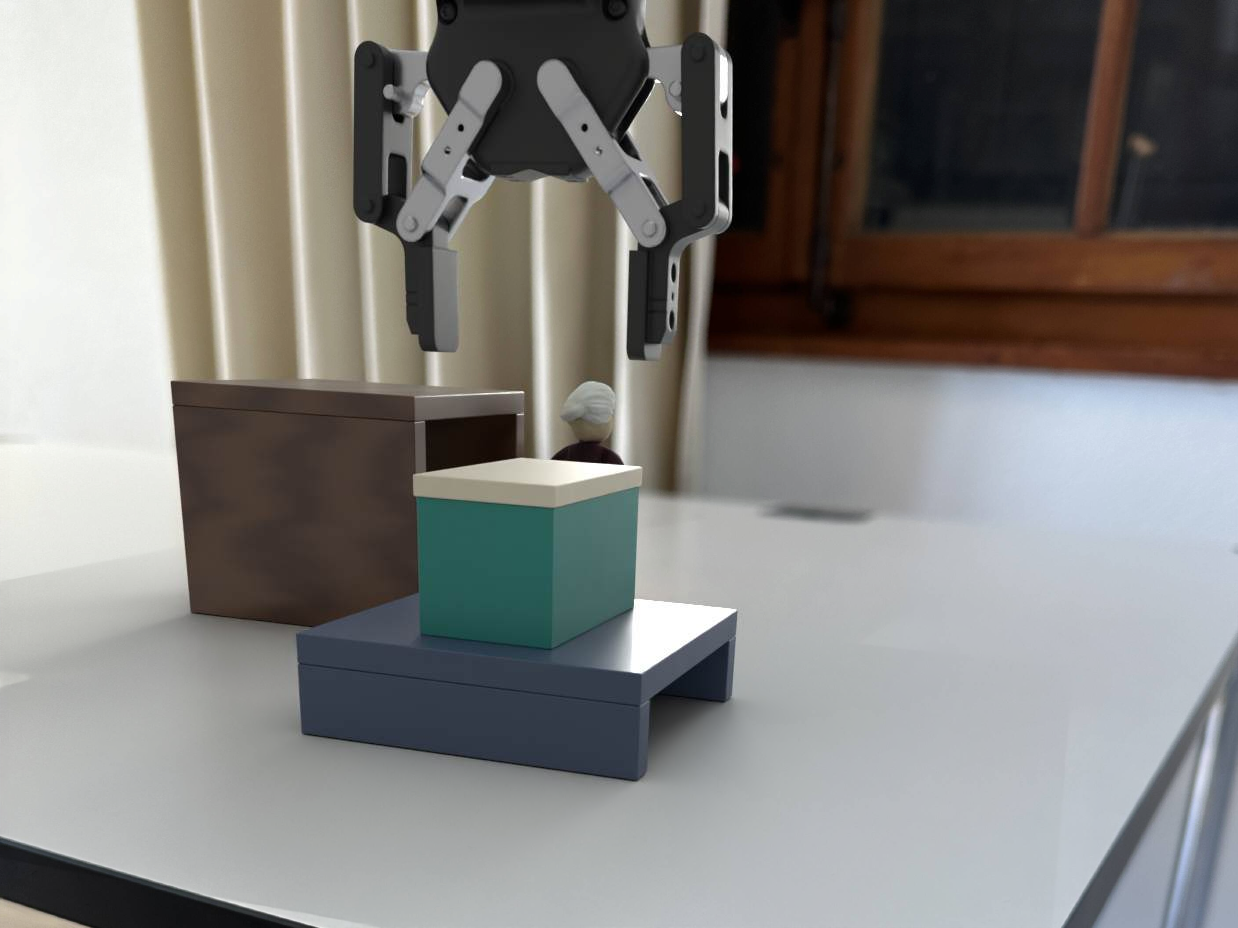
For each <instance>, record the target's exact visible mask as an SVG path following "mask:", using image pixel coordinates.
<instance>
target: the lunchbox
mask: <svg viewBox="0 0 1238 928" xmlns="http://www.w3.org/2000/svg"><path fill="white" fill-rule="evenodd" d="M642 485H643V467H642V466H636V465H625V464H624V465H611V464H598V463H585V462H571V461H558V460H550V459H546V458H545V459H544V458H532V457H531V458H529V457H524V458H516V459H509V460H503V461H497V462H490V463H484V464H477V465H471V466H464V467H458V468H451V469H445V470H438V471H432V472H425V473H419V474H414V475H413V495H414V496H416V497H417V520H418V564H419V609H420V634H421V635H428V636H436V637H445V638H454V639H462V640H471V641H480V642H488V643H497V644H506V645H514V646H523V647H532V648H540V649H549V650H551V649H553V648H555V647H557V646H559V645H561V644H563V643H565V642H567V641H569V640H571V639H573V638H575V637H576V636H578V635H580V634H582V633H584V632H586V631H588V630H590V629H592V628H594V627H596V626H598V625H600V624H602V623H604V622H606V621H608V620H610V619H612V618H613V617H615V616H617V615H619V614H621V613H623V612H625V611H627V610H629V609H631V608H633V607H634V601H635V599H636V597H635V596H636V574H637V573H636V572H637V570H636V569H637V547H638V545H637V544H638V523H639V522H638V520H639V519H638V518H639V498H640V497H639V495H640V487H642Z"/></svg>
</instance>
